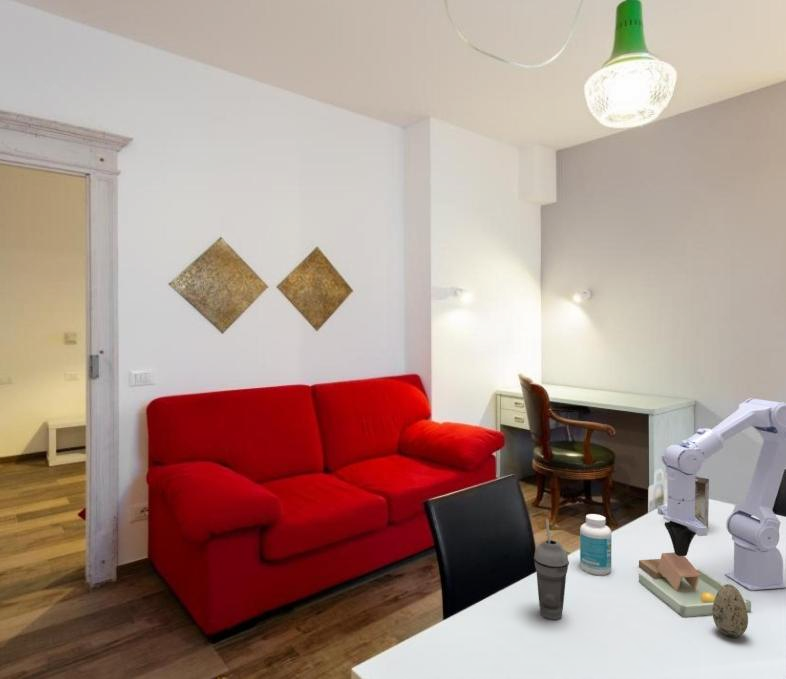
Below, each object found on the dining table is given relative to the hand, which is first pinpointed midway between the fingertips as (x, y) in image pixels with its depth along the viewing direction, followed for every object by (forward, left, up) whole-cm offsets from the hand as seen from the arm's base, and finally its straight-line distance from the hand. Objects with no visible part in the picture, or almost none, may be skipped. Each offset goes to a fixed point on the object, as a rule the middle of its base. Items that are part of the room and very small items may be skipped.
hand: (680, 554), depth 121 cm
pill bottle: (+15, -12, -8) cm, 21 cm away
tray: (0, +4, -8) cm, 9 cm away
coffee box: (-27, -33, -8) cm, 43 cm away
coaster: (0, -8, -8) cm, 11 cm away
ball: (0, +10, -5) cm, 11 cm away
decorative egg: (+3, +18, -8) cm, 20 cm away
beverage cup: (+35, +6, -8) cm, 37 cm away
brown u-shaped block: (0, -4, -3) cm, 5 cm away
